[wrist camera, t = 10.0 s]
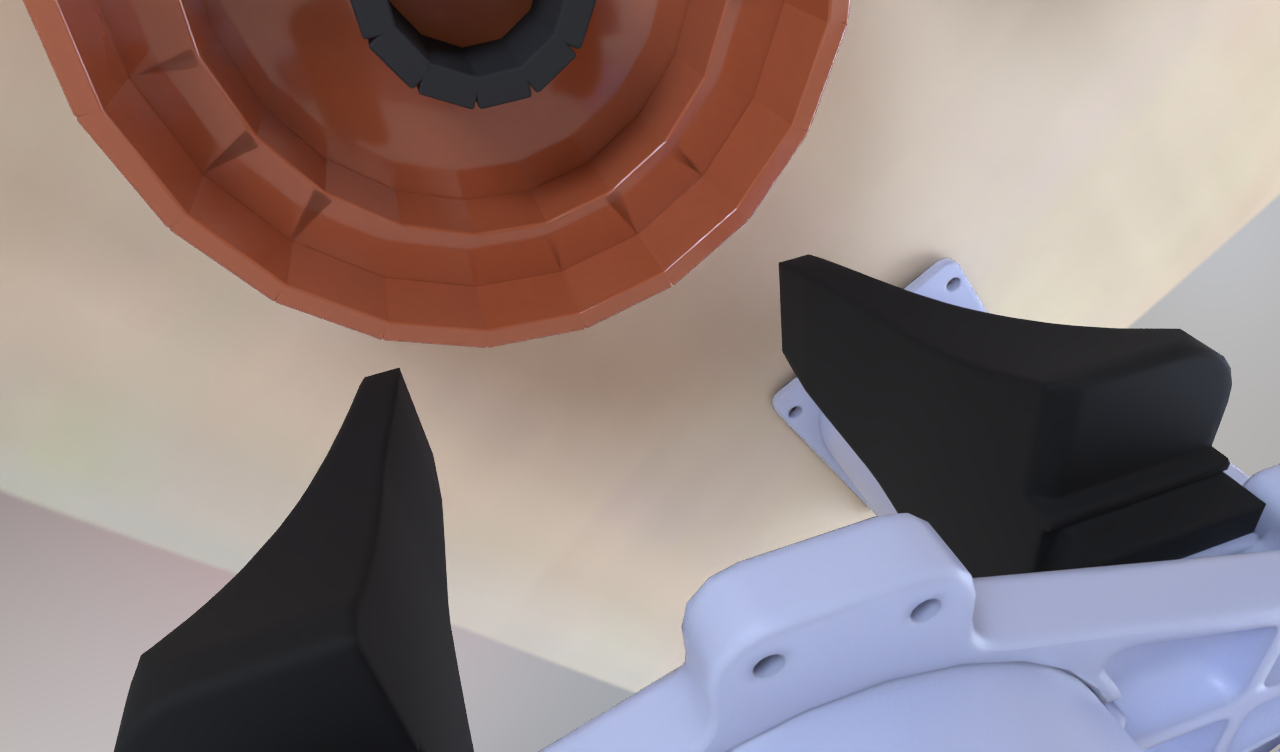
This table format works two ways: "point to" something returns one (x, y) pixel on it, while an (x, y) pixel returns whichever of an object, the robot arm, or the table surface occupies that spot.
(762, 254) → the table surface
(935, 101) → the table surface
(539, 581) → the table surface
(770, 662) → the robot arm
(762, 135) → the bowl
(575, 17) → the ring
